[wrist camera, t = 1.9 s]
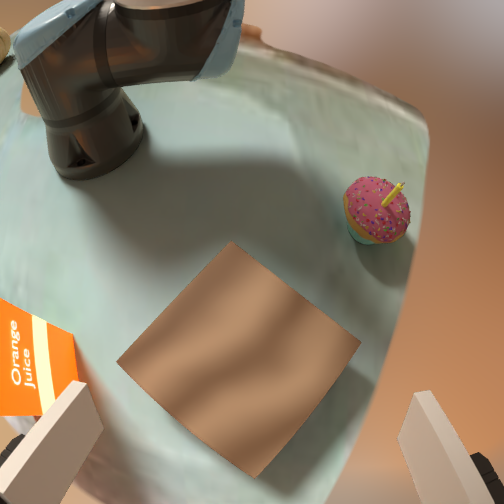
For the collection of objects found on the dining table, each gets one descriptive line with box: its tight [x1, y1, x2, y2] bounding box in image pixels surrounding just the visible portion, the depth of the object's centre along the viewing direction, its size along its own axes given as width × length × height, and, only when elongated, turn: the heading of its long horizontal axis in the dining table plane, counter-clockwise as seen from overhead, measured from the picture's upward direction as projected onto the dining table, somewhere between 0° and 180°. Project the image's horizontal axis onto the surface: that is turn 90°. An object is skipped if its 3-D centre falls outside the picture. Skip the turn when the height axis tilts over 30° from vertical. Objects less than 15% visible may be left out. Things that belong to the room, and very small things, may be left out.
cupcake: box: [343, 177, 411, 245], centre depth 32 cm, size 9×8×12 cm
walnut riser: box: [116, 241, 361, 479], centre depth 27 cm, size 15×15×6 cm
